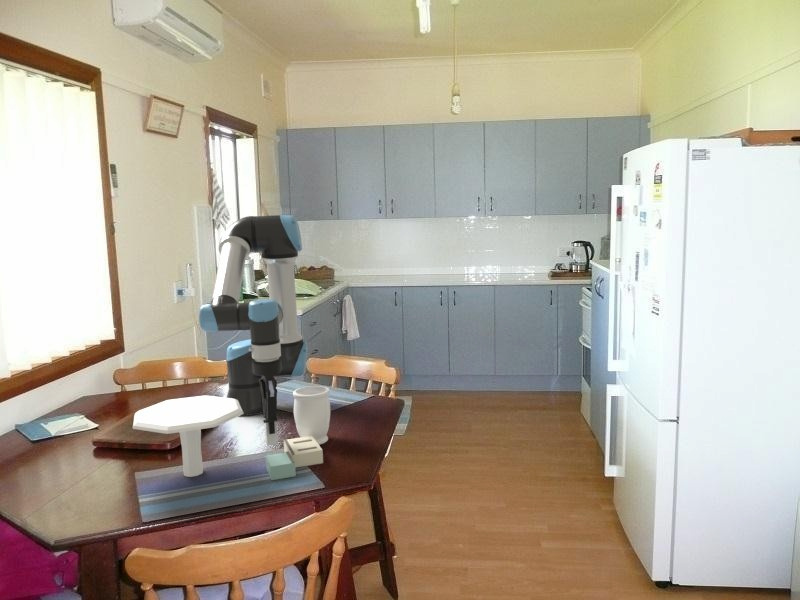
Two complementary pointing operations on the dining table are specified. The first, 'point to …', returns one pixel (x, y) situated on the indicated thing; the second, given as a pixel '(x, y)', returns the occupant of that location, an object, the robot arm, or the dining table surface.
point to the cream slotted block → (304, 451)
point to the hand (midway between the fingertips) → (271, 443)
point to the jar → (312, 412)
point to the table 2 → (188, 423)
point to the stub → (280, 465)
